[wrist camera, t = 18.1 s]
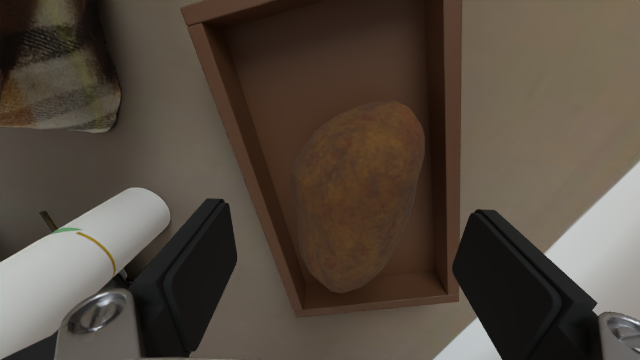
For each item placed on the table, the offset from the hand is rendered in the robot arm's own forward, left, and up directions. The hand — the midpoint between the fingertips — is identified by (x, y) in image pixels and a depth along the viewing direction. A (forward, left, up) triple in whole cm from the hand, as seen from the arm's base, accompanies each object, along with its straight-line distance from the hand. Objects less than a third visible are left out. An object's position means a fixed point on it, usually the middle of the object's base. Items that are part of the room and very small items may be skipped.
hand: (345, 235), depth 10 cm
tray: (+1, 0, -9) cm, 9 cm away
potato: (+2, +3, -2) cm, 4 cm away
